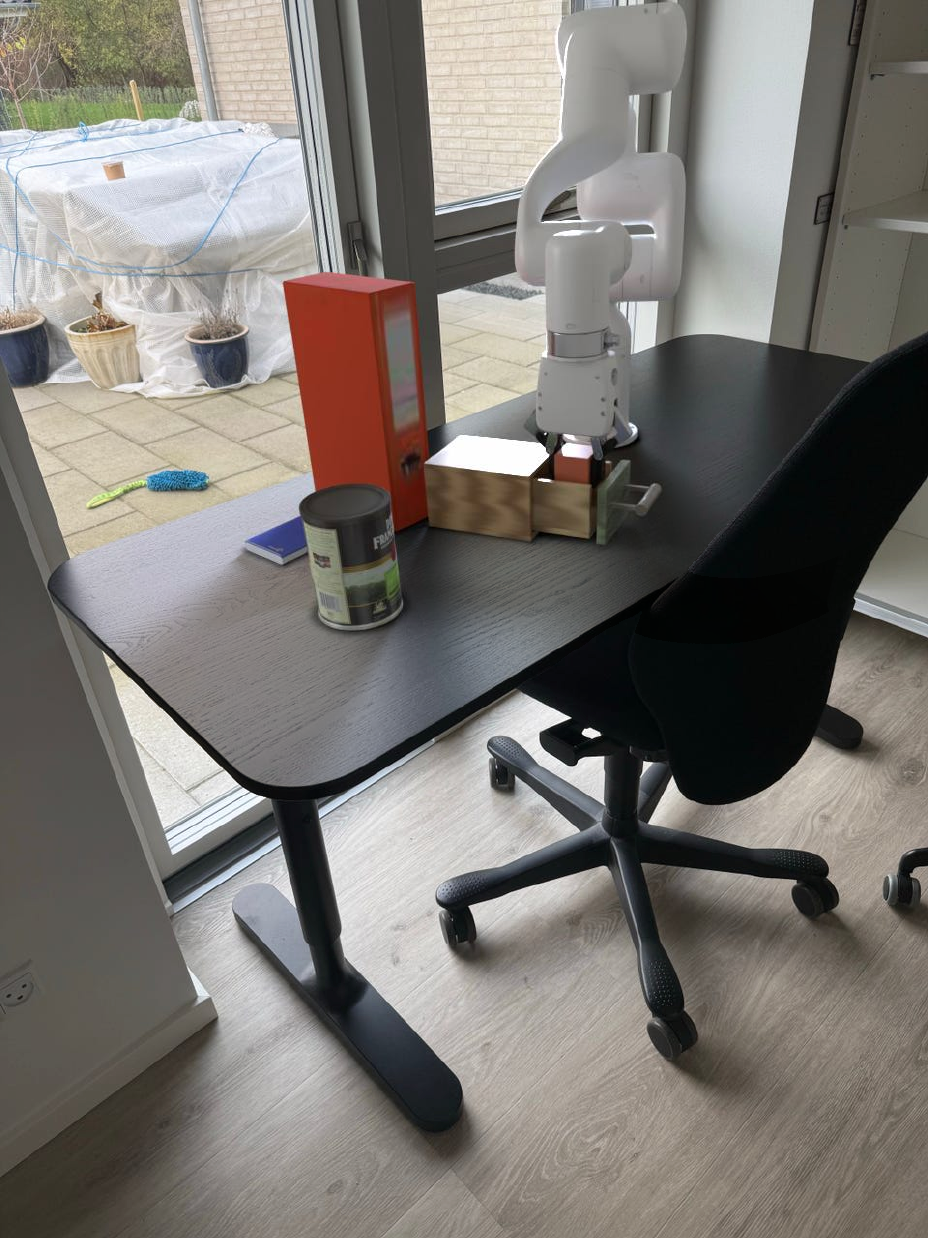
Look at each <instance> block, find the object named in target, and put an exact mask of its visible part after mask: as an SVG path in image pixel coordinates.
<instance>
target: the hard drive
mask: <svg viewBox="0 0 928 1238" xmlns="http://www.w3.org/2000/svg"><path fill="white" fill-rule="evenodd" d="M244 544H245V548H246V550H248V551H249V552H251V553H253V554H255V555H258V556H260V557H263V558H265V559H267V560H270V561H271V562H274V563H277V564H278V565H281V566H282V565H285V564H287V563H289V562H291V561H293V560H296V559H297V558H299V557H301V556H303V555H305V554H308V550H307V544H306V539H305V533H304V527H303V522H302V517H301V516H300V515H299V516H297V517H294V518H292V519H290V520H288V521H286V522H283V523H280V524H279V525H276V526H274V527H272V528H270V529H268V530H266V531H264V532H261V533H259V534H257V535H254V536H253V537H250V538H248V539H246V540H245V541H244Z"/></svg>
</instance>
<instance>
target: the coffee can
mask: <svg viewBox="0 0 928 1238" xmlns="http://www.w3.org/2000/svg"><path fill="white" fill-rule="evenodd" d="M298 512H299V516H301V517H302V522H303V527H304V533H305V539H306V544H307V550H308V552H307V555H308V560H309V566H310V572H311V576H312V582H313V587H314V593H315V598H316V599H315V600H316V603H317V611H318V613H317V614H318V618H319V619H320V621H321V622H322V623H323V624H324V625H325V626H328V627H330V628H332V629H336V630H339V631H340V630H341V631H347V632H348V631H349V632H352V631H366V630H371V629H375V628H378V627H380V626H383V625H386V624H388V623H389V622H391V621H393V620H395V618H396V617H398V616H399V614H400V613H401V612H402V611H403V607H404V599H403V598H402V597H403V596H402V588H401V581H400V573H399V564H398V555H397V548H396V537H395V531H394V528H393V521H392V512H391V496H390V493H389V492H388V491H387V490H385V489H384V488H382V487H379V486H376V485H371V484H359V483H355V484H342V485H336V486H331V487H327V488H324V489H321V490H318V491H313V492H311V493H310V494H308V495H306V496H305V497H304V498H303V499H302V500H301V501H300V502H299V504H298Z"/></svg>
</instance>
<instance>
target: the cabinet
mask: <svg viewBox="0 0 928 1238" xmlns="http://www.w3.org/2000/svg"><path fill="white" fill-rule="evenodd" d="M548 461H549V455H548V454H547V453H546V452H545V448H544V447H543V446H542V445H541V444H540V443H539V442H529V441H522V440H521V441H520V440H510V439H501V438H491V437H481V436H474V435H473V436H472V435H463V434H460V435H459V436H457V437H456V438H454V439H453V440H452V441H451V442H449V443H448V444H447V445H445V446H444V447H443V448H441V449H440V450H439V451H438V452H436V453H435V454H434V455H432V456H431V457H429V460H427V461H426V462H425V463H424V474H425V484H426V495H427V505H428V524H429V527H432V528H433V527H434V528H440V529H446V530H453V531H458V532H467V533H473V534H479V535H485V536H492V537H498V538H505V539H511V540H518V541H524V542H532V541H533V540H534V539H535V538H536V536H537V535H538V534H539V532H540V531H534V530H532V508H531V480H530V479H531V478H532V477H533V476H534V475H535V474H536V473H537V472H538V471H539V470H540V469H541V468H542V467H543V466H544V465H545V464H546V463H547V462H548Z"/></svg>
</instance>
